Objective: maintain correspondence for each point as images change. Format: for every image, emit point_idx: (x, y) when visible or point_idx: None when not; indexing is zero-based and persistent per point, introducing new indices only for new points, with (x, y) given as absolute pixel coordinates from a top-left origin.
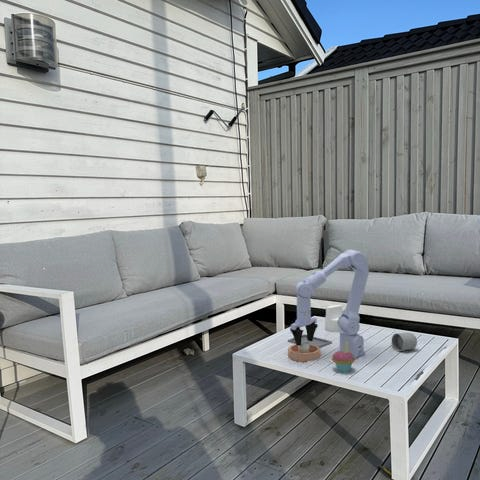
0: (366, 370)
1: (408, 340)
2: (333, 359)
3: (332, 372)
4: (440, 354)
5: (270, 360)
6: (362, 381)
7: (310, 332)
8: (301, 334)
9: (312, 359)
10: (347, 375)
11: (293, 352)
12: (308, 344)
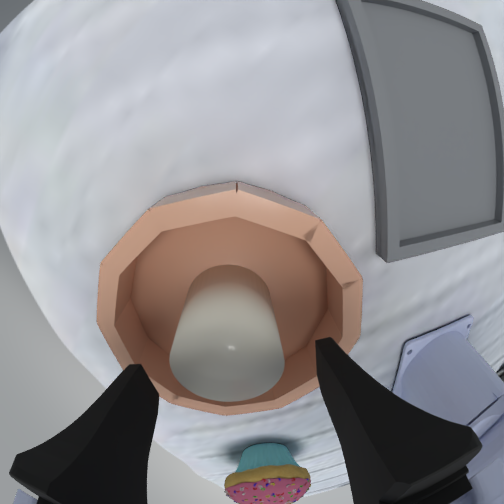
0: (314, 462)
1: None
2: (224, 485)
3: (213, 450)
4: None
5: (22, 229)
6: None
7: (346, 437)
8: (136, 494)
9: None
10: None
11: (109, 343)
12: (244, 396)
